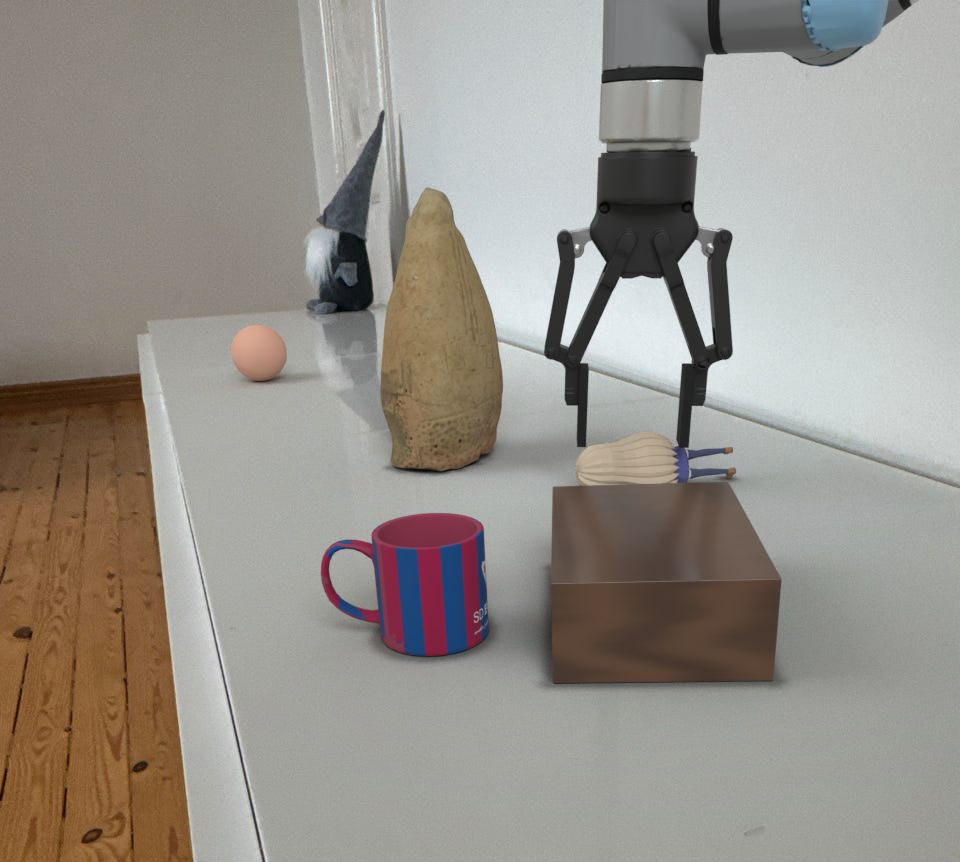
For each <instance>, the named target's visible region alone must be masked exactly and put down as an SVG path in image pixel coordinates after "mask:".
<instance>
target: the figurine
mask: <svg viewBox="0 0 960 862" xmlns="http://www.w3.org/2000/svg"><path fill="white" fill-rule="evenodd" d="M733 453H734V447H733V446H727V447H722V448H720V447H719V448H716V447H715V448H702V449H698V450H697V449H689V448H680V447H679V445H678V444H677V445H675V446H674V443H673V442H672V441H671V440H670V439H669V438H668V437H666V436H664V435H662V434H660V433H658V432H653V431H649V430H647V431H639V432H635V433H632V434H631V435H628V436H626V437H624V438H621V439H619V440H617V441H612V442H605V443H598V444H591V445H589V446H588V447H585V449H584V450H583V451H582V452H581V453H580V454H579V456H578V457H577V460H576V462H575V470H576V471H575V476H576V480H577V482H578V483H579V486H591V485H626V484H661V483H688V481H689V480H691V479H696V478H700V477H707V476H708V477H709V476H717V475H725V477H726V479H732V478H733V476H735V475H736V474H737V469H736V467H730V468H694V467H690V465H689V464H690V463H689V461H690V460H693V459H697V458H703V457H709V456H714V455H720V454H723V455H729V454H733Z"/></svg>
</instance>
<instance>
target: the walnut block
mask: <svg viewBox="0 0 960 862" xmlns="http://www.w3.org/2000/svg"><path fill="white" fill-rule="evenodd" d="M551 492H552V497H551V498H552V499H551V501H552V502H551V549H550V550H551V551H550V552H551V555H550V605H551V606H550V607H551V608H550V609H551V610H550V611H551V653H552V654H551V655H552V656H551V657H552V683H553V684H592V683H593V684H597V683H598V684H599V683H600V684H601V683H603V684H604V683H674V682H675V683H682V682H683V683H685V682H689V683H690V682H695V683H696V682H769V681H774V675H775V665H776V664H775V663H776V652H777V640H778V639H777V638H778V627H779V618H780V617H779V616H780V605H781V603H780V602H781V591H782V577H781V575H780V573H779V571H778V570H777V568H776V566H775V564H774V562H773V561H772V558H771V557H770V555H769V553H768V551H767V550H766V547H765V546H764V544H763V542H762V540H761V538H760V536H759V535H758V533H757V531H756V530H755V527H754V526H753V524H752V522H751V520H750V518H749V517H748V515H747V513H746V511H745V509H744V508H743V506H742V504H741V502H740V500H739V498H738V497H737V494H736V493H735V491H734V489H733V487H732V485H731V484H730V482H729V481H706V482H705V481H701V482H699V481H698V482H697V481H695V482H687V483H661V484H626V485H591V486H581V485H559V486H552V491H551Z"/></svg>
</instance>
